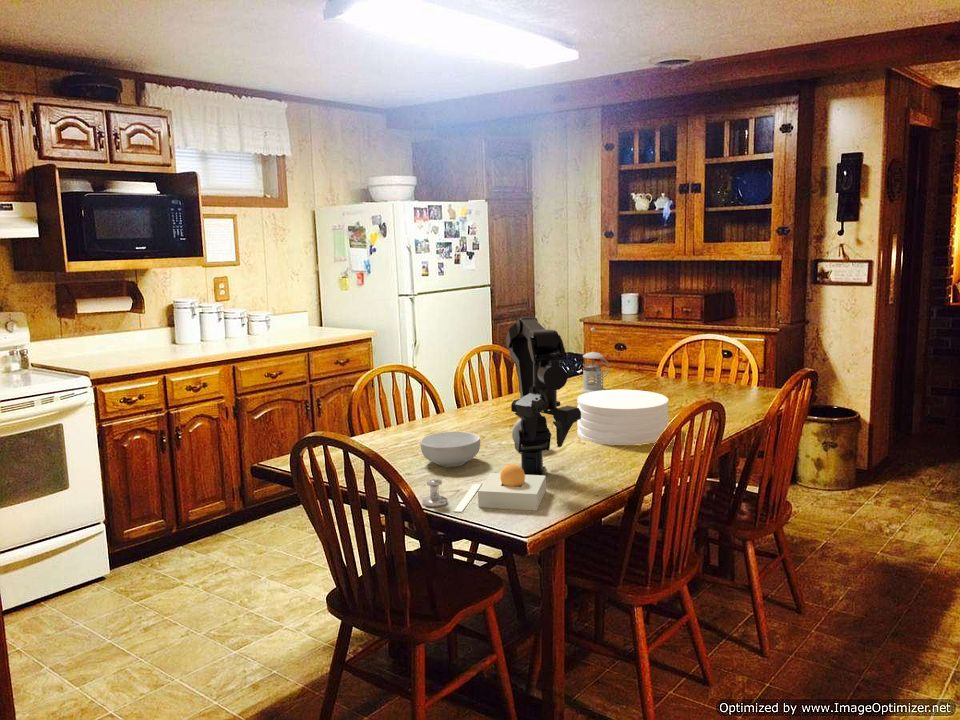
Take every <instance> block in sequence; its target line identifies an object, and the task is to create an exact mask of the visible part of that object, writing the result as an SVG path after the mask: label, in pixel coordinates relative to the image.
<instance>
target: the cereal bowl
mask: <svg viewBox="0 0 960 720" xmlns="http://www.w3.org/2000/svg"><path fill="white" fill-rule="evenodd" d="M480 447H481V437H480V436H479V435H478V434H476V433H473V432H468V431H443V432H437V433H431V434H428V435H426V436H424V437H422V438H421V439H420V450H421V454H422V456H424V458H425V459H426V460H428V461H430V462H432V463H435V464H437V465H438V466H441V467H445V468H446V467H447V468H448V467H450V468H451V467H452V468H453V467H459V466H462V465H464V464H465V463H467V462H468V461H471V460H472V459H473V458H475V457H476V456H477V454H478V453H479V451H480V449H481V448H480Z"/></svg>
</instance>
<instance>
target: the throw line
mask: <svg viewBox="0 0 960 720" xmlns="http://www.w3.org/2000/svg"><path fill="white" fill-rule="evenodd" d="M481 486H482V484H481V483H479V484H478V483H473V484H472V485H471V487H470V488H469V489H468V491H467V492H466V494H465V495H464V497H463V498H462V499H461V500H460V502H459V503H458V505H457V506H455V509H454V510H453V512H454V513H463V511H465V509H466V507H467V505H468V504H469V503H470V502H471V501H472V499H473V498H474V496H475V494H476V493H478V490H479V489H480V487H481Z"/></svg>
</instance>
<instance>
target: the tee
mask: <svg viewBox="0 0 960 720" xmlns="http://www.w3.org/2000/svg"><path fill="white" fill-rule="evenodd" d="M442 483H443V481H442V480H441V479H439V478H431V479H428V480H426V486H429V487H430V496H426V497H424V498H423V499H422V500H421V501H422V505H423V506H424V507H426V508H441V507H444V506H446V505H448V498H447V497H445V496H443V495H440V492H439V490H440V489H439V486H441V485H443V484H442Z"/></svg>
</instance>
